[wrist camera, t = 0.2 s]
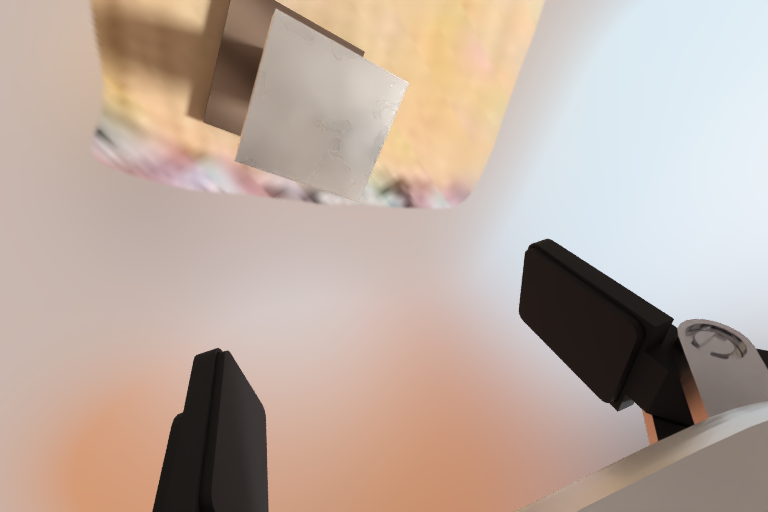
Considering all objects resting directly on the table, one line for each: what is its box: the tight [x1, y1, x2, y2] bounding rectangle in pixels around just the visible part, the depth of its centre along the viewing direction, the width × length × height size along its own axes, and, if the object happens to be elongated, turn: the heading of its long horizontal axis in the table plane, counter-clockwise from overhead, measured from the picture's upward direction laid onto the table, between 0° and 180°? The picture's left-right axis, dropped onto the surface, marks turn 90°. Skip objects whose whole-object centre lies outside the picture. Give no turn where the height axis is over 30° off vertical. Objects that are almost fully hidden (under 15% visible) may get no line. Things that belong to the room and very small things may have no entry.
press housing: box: [203, 0, 365, 136], centre depth 29 cm, size 12×12×12 cm
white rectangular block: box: [235, 9, 409, 202], centre depth 21 cm, size 6×6×15 cm
